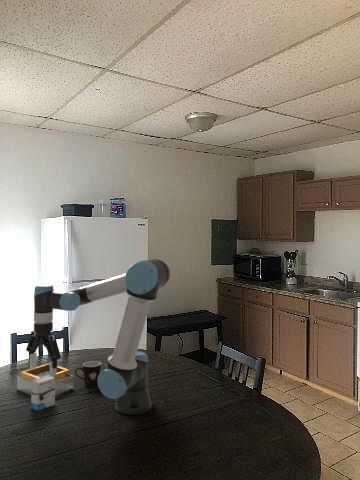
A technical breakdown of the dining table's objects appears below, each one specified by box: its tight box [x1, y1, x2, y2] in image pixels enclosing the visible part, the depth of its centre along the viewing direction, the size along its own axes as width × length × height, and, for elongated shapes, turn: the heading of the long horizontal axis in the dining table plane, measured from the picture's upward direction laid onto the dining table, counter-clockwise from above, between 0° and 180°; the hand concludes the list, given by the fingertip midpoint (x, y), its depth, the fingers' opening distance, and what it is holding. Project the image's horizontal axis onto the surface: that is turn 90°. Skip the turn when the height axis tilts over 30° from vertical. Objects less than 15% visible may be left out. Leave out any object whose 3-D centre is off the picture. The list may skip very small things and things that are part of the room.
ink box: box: [30, 375, 56, 412], centre depth 166 cm, size 8×5×12 cm, turn 143°
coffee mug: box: [74, 360, 102, 388], centre depth 191 cm, size 12×9×10 cm
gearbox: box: [16, 362, 74, 397], centre depth 186 cm, size 24×16×8 cm, turn 55°
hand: (42, 372), depth 166 cm, fingers open, 13 cm apart
